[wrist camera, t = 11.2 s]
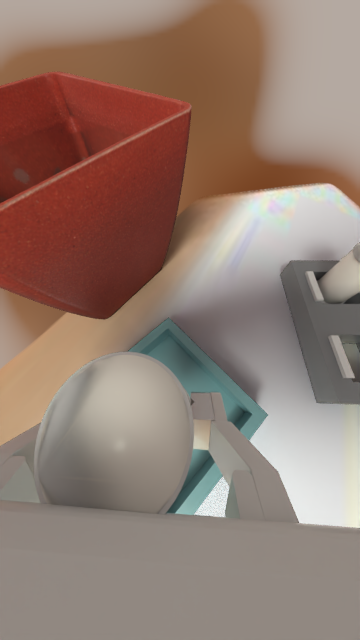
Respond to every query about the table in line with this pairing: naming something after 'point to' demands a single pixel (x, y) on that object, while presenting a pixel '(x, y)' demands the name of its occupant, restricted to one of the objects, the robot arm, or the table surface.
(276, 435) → the table surface
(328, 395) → the fuse block
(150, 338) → the tray
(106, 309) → the plant pot
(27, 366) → the table surface
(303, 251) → the table surface
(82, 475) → the grey capped cylinder
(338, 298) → the fuse
